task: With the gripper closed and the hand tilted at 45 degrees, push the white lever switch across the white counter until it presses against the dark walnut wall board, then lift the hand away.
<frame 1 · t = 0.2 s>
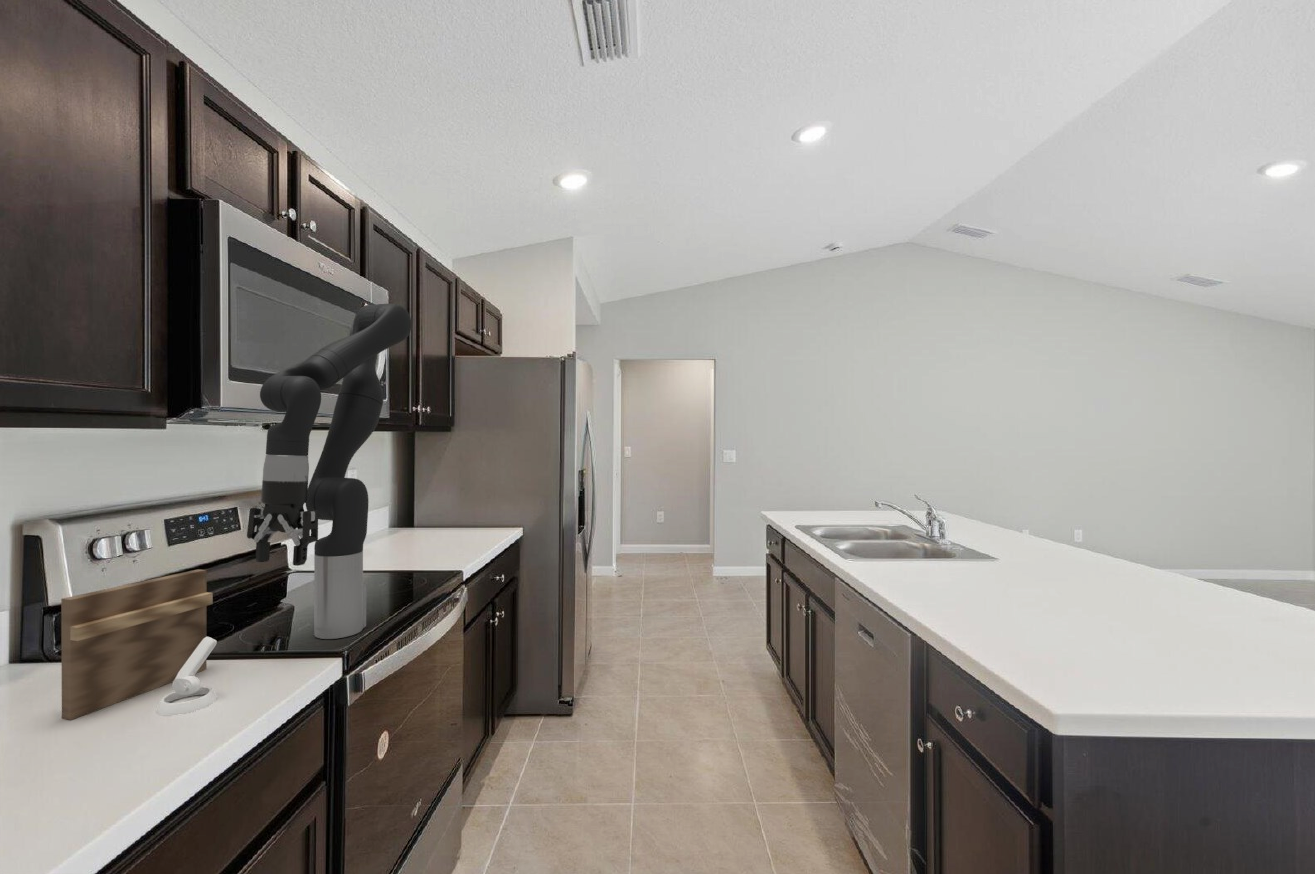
hand: (280, 563, 114), 18 cm above the worktop, tool pointing down, fingers open, 8 cm apart
white lever switch: (187, 706, 94), on the worktop
wall board: (140, 691, 99), on the worktop
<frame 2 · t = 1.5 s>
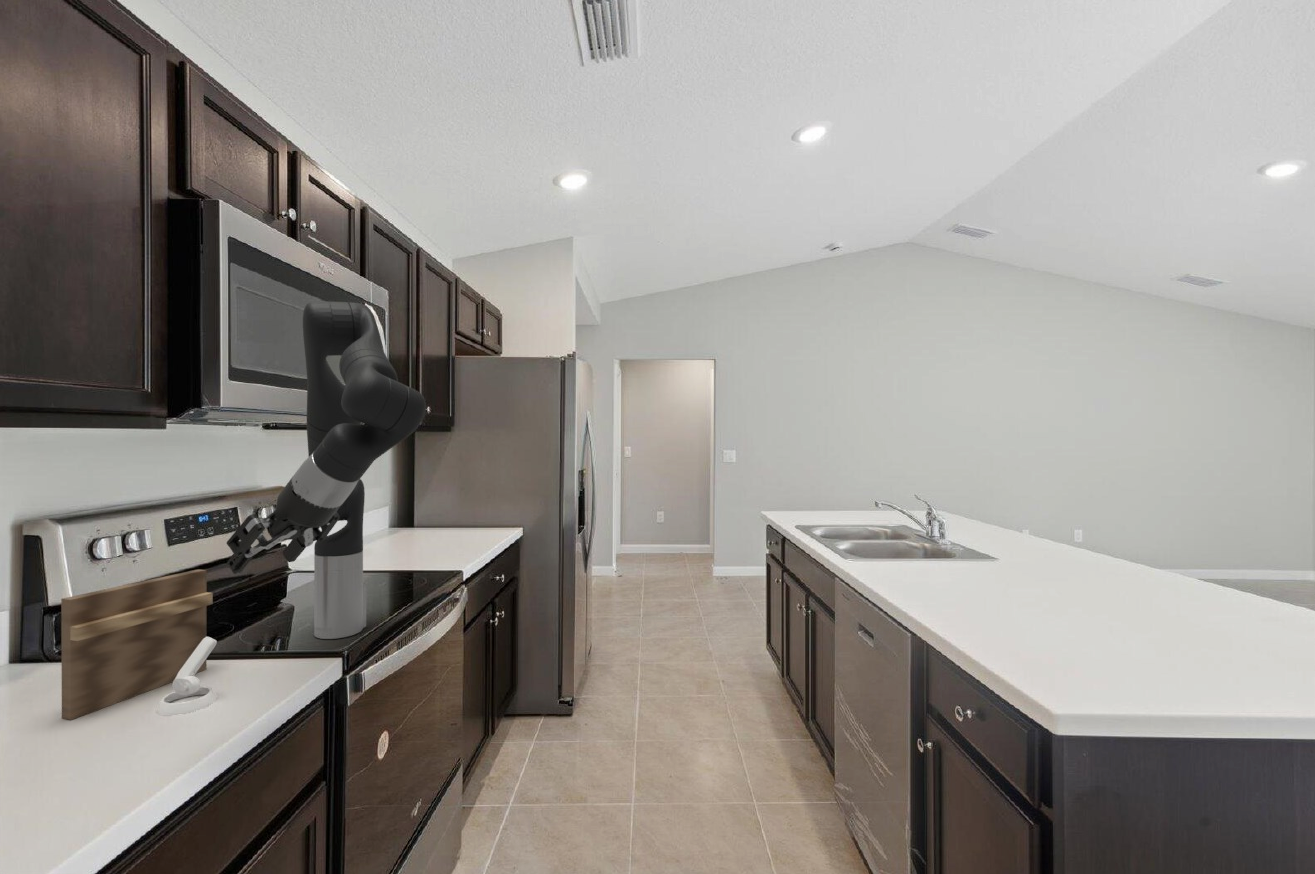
hand: (261, 563, 89), 24 cm above the worktop, tool tilted 45°, fingers open, 8 cm apart
nothing on the worktop moved.
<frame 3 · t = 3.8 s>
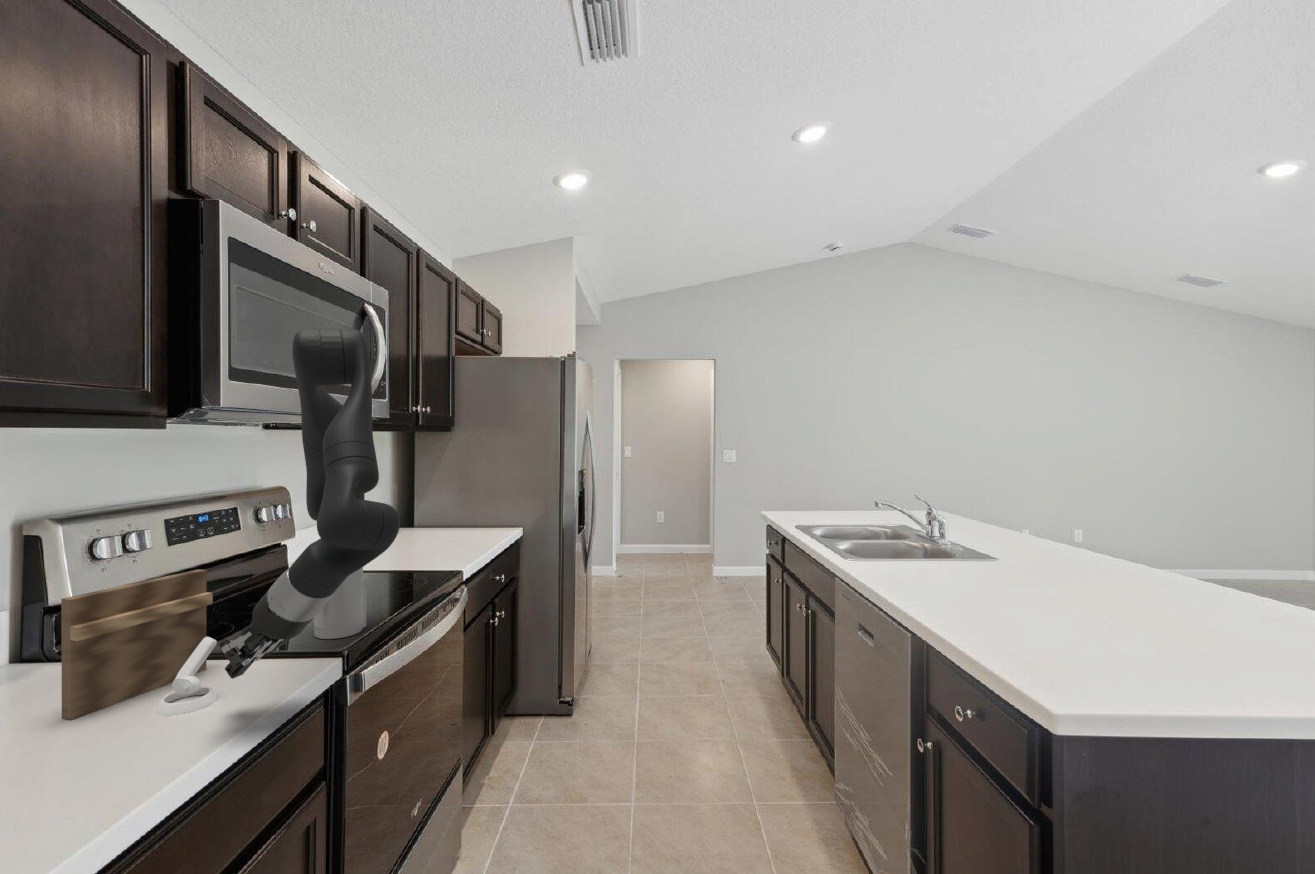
hand: (232, 672, 91), 6 cm above the worktop, tool tilted 45°, fingers closed
nothing on the worktop moved.
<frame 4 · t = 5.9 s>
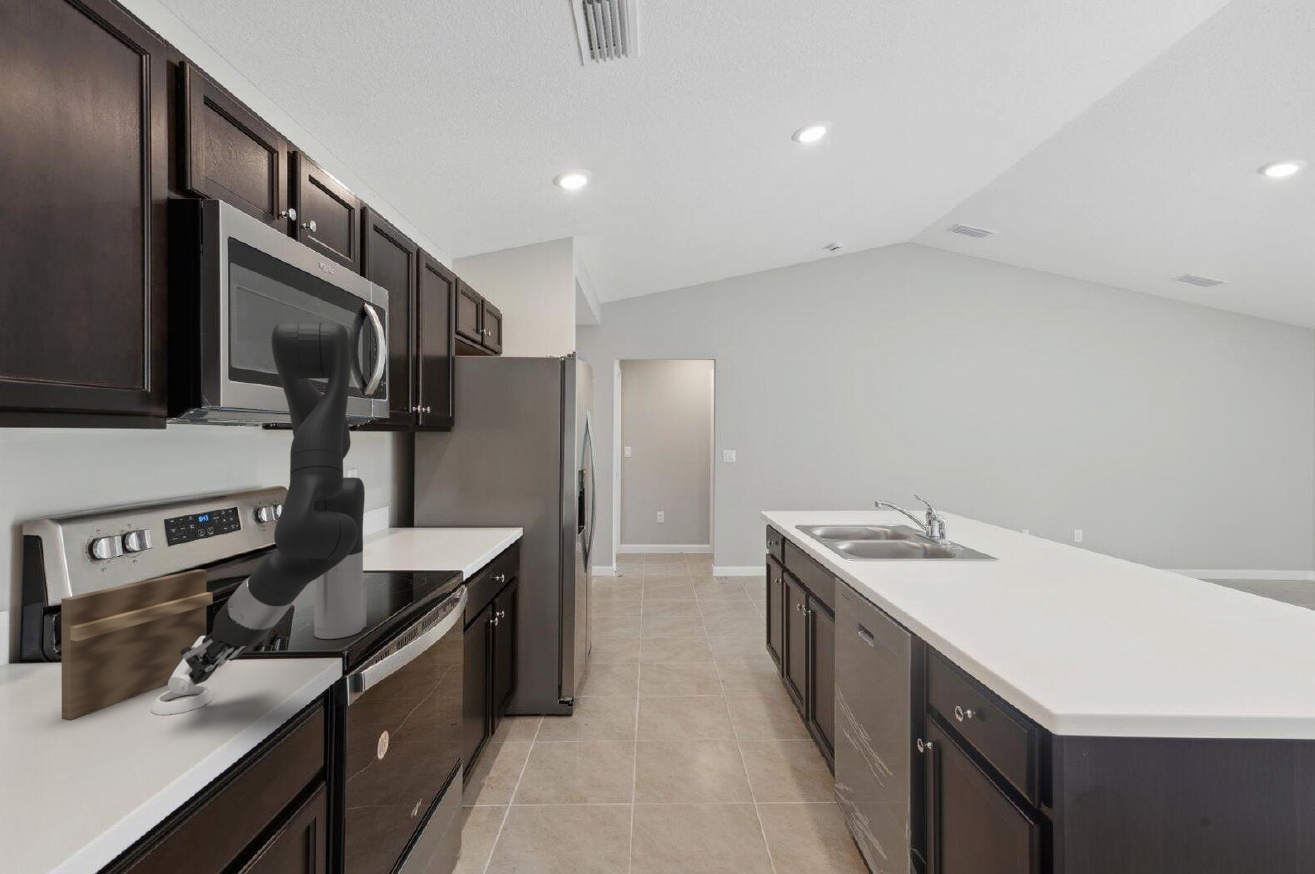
hand: (196, 678, 94), 4 cm above the worktop, tool tilted 45°, fingers closed
white lever switch: (182, 705, 95), on the worktop, touching gripper
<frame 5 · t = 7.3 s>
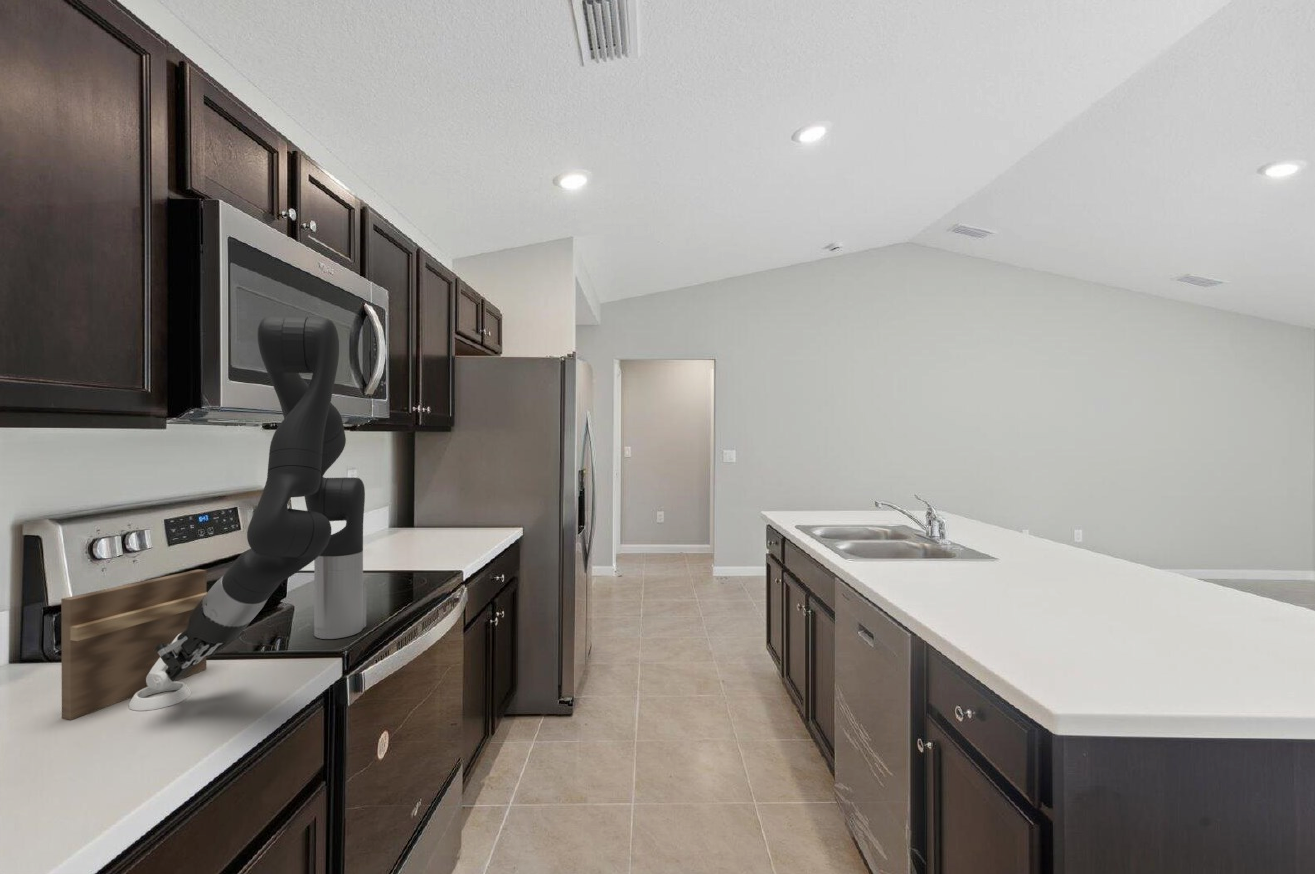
hand: (173, 675, 95), 4 cm above the worktop, tool tilted 45°, fingers closed
white lever switch: (160, 701, 96), on the worktop, touching gripper
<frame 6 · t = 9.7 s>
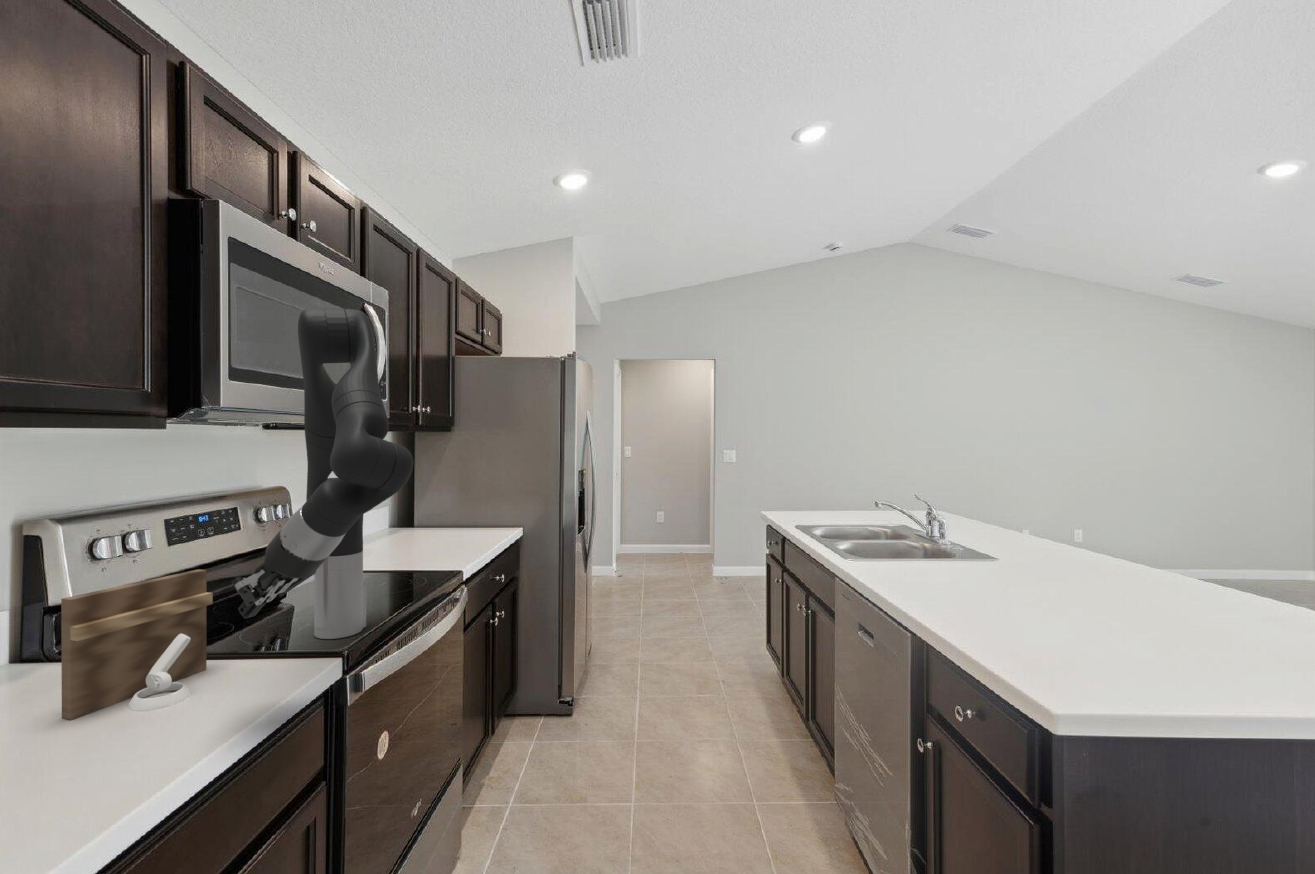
hand: (245, 613, 92), 15 cm above the worktop, tool tilted 45°, fingers closed
white lever switch: (160, 701, 96), on the worktop
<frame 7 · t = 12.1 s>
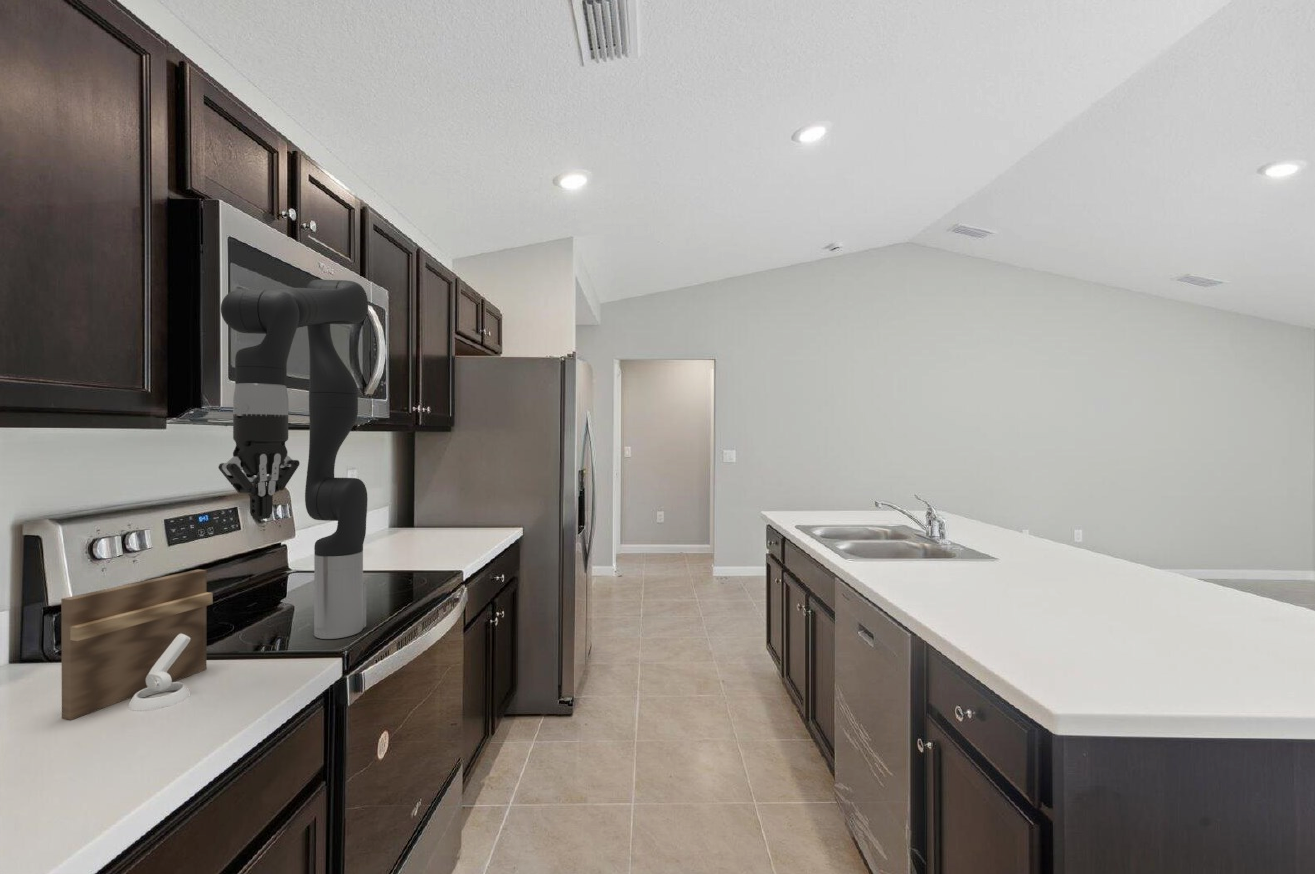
hand: (261, 518, 98), 29 cm above the worktop, tool pointing down, fingers closed
nothing on the worktop moved.
at the end: white lever switch inside the target area (1.8 cm from its centre), on the worktop; white lever switch tilted 0° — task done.
